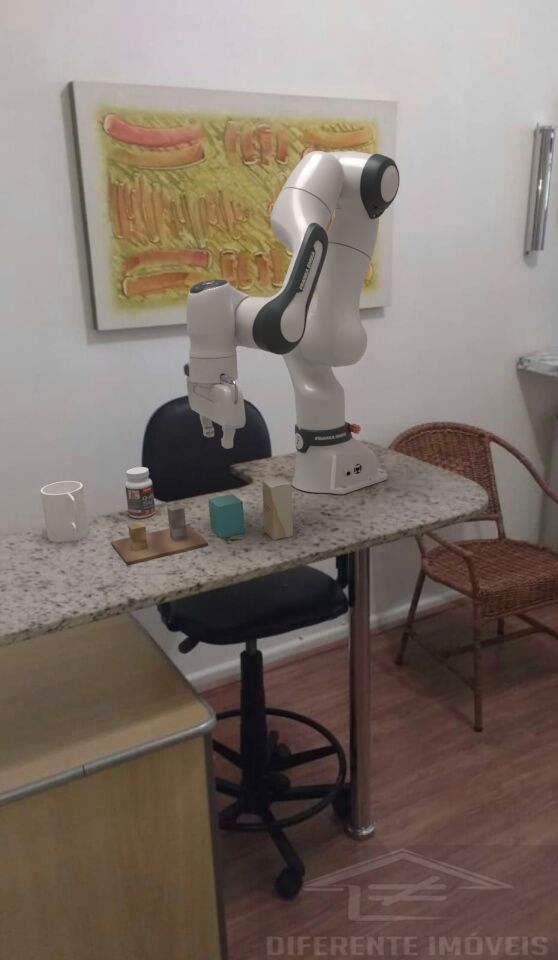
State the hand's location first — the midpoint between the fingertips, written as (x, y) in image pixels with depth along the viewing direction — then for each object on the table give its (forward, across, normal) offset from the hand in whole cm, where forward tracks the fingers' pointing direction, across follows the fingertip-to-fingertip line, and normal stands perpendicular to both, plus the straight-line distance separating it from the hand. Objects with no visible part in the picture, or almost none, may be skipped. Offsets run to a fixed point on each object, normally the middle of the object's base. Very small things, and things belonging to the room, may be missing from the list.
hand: (218, 441), depth 144 cm
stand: (+19, +1, +13) cm, 23 cm away
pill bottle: (+19, +19, +11) cm, 29 cm away
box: (+19, -7, -9) cm, 22 cm away
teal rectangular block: (+19, 0, -1) cm, 19 cm away
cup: (+19, +14, +27) cm, 36 cm away
